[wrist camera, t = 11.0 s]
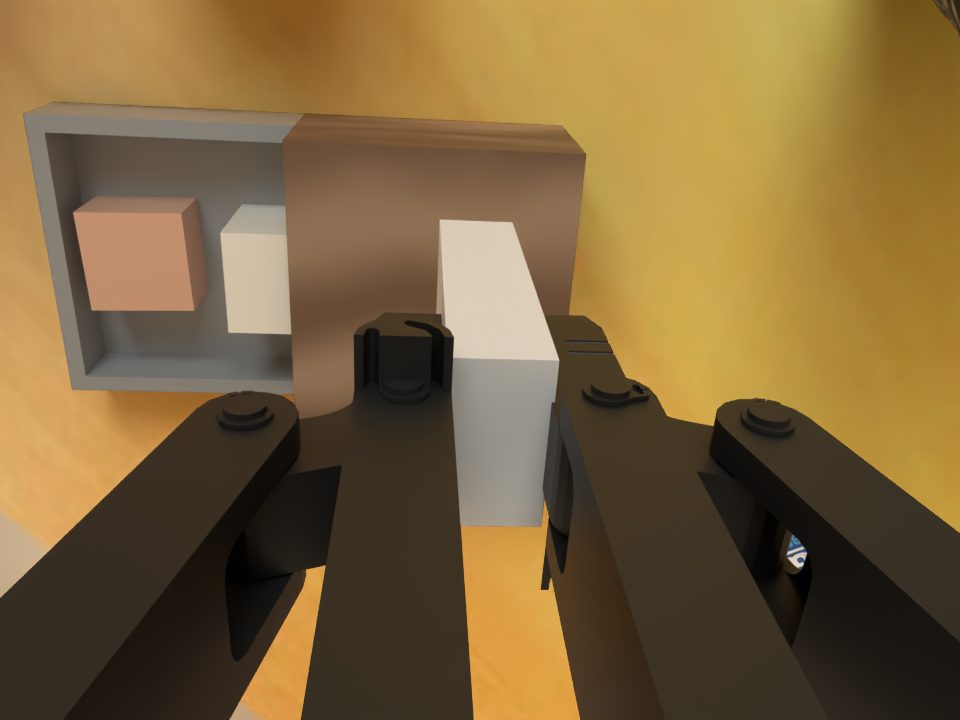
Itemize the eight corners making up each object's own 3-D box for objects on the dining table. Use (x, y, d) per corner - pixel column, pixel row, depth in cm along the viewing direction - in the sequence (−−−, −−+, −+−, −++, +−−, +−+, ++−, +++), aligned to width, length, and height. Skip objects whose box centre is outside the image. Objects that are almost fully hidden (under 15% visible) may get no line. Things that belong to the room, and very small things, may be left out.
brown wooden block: (304, 113, 41) (281, 140, 35) (562, 125, 42) (586, 154, 36) (313, 365, 47) (295, 427, 41) (538, 371, 48) (555, 432, 42)
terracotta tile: (181, 213, 39) (196, 197, 42) (73, 212, 39) (96, 196, 41) (194, 310, 41) (208, 289, 44) (91, 310, 41) (112, 289, 44)
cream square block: (301, 206, 42) (242, 204, 42) (286, 234, 38) (220, 232, 37) (304, 297, 44) (248, 295, 44) (291, 334, 40) (228, 332, 40)
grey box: (54, 101, 40) (22, 113, 37) (304, 113, 41) (293, 125, 38) (96, 360, 46) (72, 389, 43) (313, 365, 47) (305, 394, 44)
